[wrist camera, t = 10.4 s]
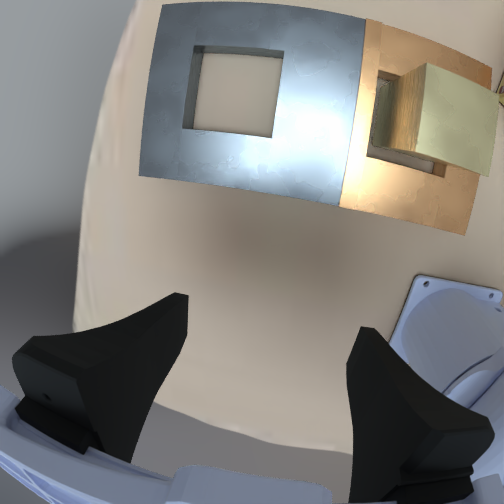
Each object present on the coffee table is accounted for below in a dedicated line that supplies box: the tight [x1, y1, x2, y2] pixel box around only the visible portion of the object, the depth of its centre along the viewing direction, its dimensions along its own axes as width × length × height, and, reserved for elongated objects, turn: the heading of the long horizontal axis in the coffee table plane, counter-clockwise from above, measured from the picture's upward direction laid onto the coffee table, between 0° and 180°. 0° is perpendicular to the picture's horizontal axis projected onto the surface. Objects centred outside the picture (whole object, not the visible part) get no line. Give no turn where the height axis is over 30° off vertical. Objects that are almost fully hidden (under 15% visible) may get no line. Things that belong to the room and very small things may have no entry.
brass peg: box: [372, 63, 499, 177], centre depth 14 cm, size 4×4×8 cm
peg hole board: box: [139, 2, 492, 236], centre depth 17 cm, size 22×12×2 cm, turn 83°
